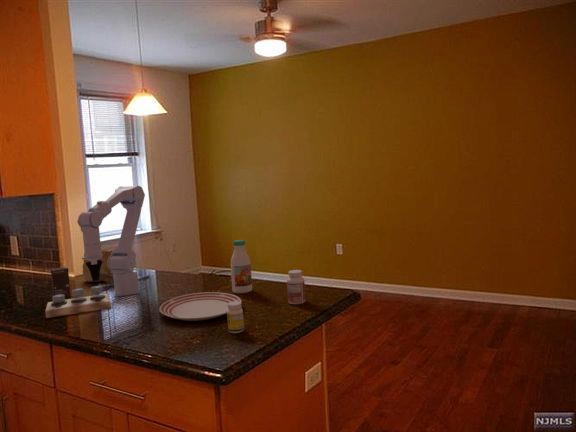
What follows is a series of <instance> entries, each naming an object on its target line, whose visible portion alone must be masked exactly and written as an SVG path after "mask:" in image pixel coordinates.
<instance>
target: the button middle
mask: <svg viewBox="0 0 576 432" xmlns="http://www.w3.org/2000/svg"><path fill="white" fill-rule="evenodd" d="M84 295H85V291H84V288H82V287H81V288H75V289H72V290H71V296H72V297H73V298H79V297H83V296H84Z"/></svg>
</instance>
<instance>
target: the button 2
mask: <svg viewBox="0 0 576 432" xmlns="http://www.w3.org/2000/svg"><path fill="white" fill-rule="evenodd" d="M90 292H91V294H92V295H100V294H102V293H103V292H104V288H103V286H102V285H95V286H91V287H90Z"/></svg>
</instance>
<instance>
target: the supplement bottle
mask: <svg viewBox="0 0 576 432" xmlns="http://www.w3.org/2000/svg"><path fill="white" fill-rule="evenodd" d="M226 316H227V319H226V320H227V329H228V332H229V333H231V334H238V333H242V332H244V330H245V321H244V310H243V308H242V301H241V302H238V301H234V302H230V303H228V310H227V314H226Z"/></svg>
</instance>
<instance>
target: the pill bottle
mask: <svg viewBox="0 0 576 432" xmlns="http://www.w3.org/2000/svg"><path fill="white" fill-rule="evenodd" d="M302 275H303V271H302V270H300V269H293V270H289V271H288V278H287V279H286V290H287V302H288V304H290V305H302V304H304V303H305V302H306V287H305V285H306V284H305V278H304V277H303V276H302Z"/></svg>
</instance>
